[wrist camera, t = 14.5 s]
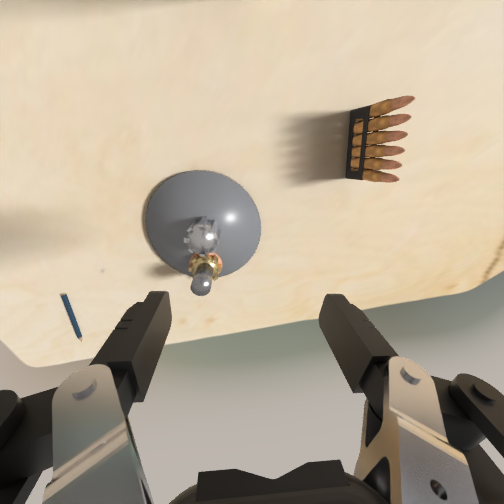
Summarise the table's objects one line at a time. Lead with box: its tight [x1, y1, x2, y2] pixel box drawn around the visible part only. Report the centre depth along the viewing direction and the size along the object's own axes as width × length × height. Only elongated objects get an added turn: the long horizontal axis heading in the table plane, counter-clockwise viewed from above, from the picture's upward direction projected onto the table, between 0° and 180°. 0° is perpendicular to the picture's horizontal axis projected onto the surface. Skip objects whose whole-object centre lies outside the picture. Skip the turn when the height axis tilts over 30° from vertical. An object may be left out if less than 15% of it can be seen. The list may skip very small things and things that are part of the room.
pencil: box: [61, 294, 82, 341], centre depth 46 cm, size 1×1×15 cm
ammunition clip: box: [346, 96, 415, 182], centre depth 30 cm, size 11×2×12 cm, turn 8°
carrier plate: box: [146, 170, 261, 277], centre depth 37 cm, size 22×22×6 cm
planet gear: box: [189, 254, 222, 296], centre depth 38 cm, size 6×6×8 cm
